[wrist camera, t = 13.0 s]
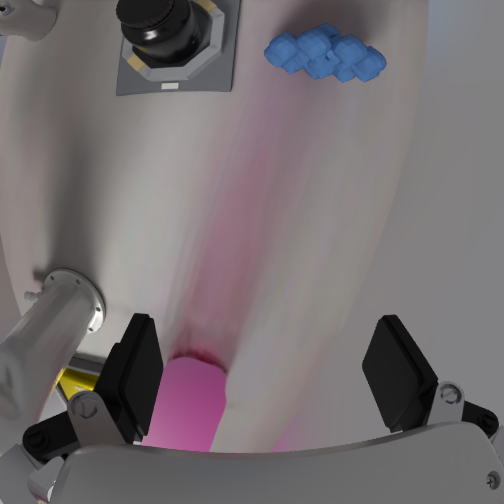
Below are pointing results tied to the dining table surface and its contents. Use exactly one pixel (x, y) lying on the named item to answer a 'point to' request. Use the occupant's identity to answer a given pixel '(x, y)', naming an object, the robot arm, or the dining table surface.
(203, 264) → the dining table surface
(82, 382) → the element tile
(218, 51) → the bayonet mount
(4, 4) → the beer glass
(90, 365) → the shallow dark tray
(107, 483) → the robot arm
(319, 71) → the blue petal flower
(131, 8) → the supplement bottle
